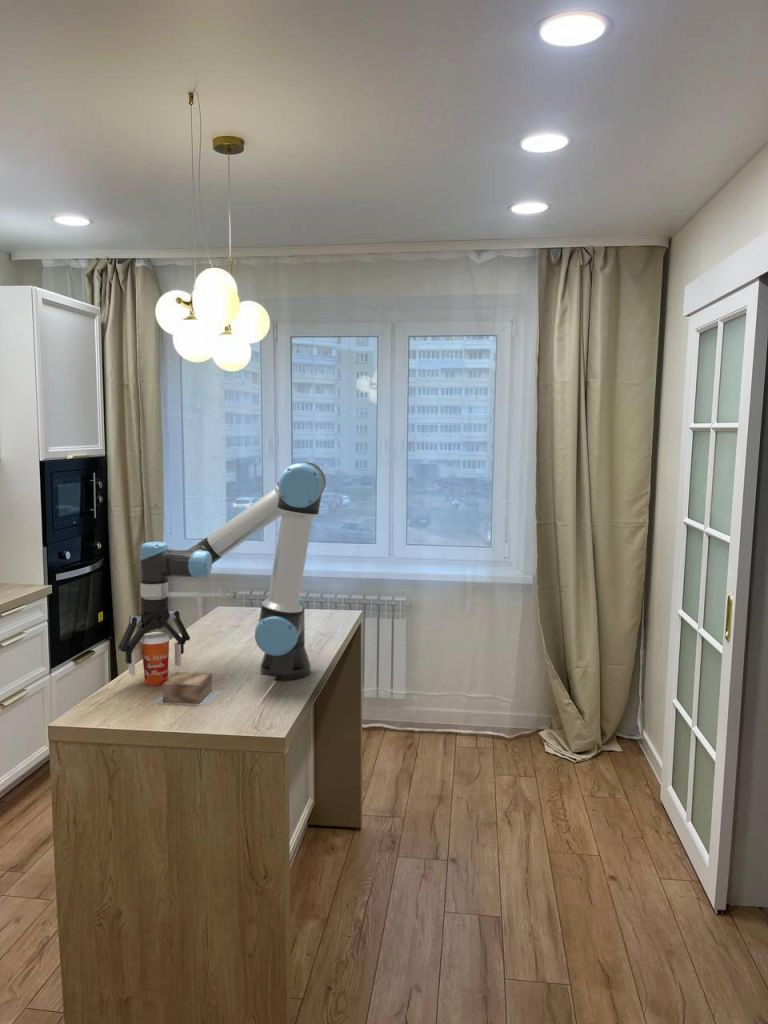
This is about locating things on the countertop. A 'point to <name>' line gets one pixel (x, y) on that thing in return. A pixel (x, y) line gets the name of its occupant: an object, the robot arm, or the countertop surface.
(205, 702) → the build plate
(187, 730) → the countertop surface
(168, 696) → the pedestal
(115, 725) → the countertop surface
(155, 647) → the coffee cup
